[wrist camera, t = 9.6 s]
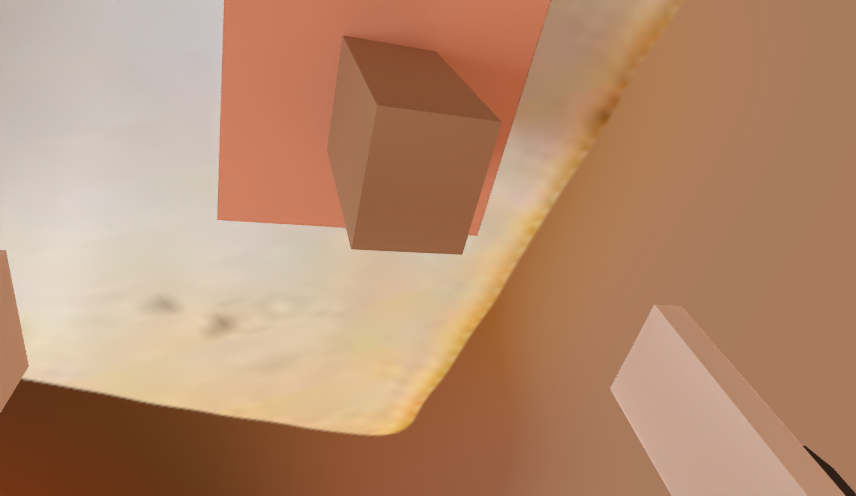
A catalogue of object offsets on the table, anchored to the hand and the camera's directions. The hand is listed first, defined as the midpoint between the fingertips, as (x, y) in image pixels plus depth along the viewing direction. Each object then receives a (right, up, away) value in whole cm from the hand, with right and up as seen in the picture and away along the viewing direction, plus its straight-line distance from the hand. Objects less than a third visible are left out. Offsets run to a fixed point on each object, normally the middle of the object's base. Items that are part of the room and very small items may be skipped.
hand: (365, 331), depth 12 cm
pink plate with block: (-1, +9, +13) cm, 16 cm away
